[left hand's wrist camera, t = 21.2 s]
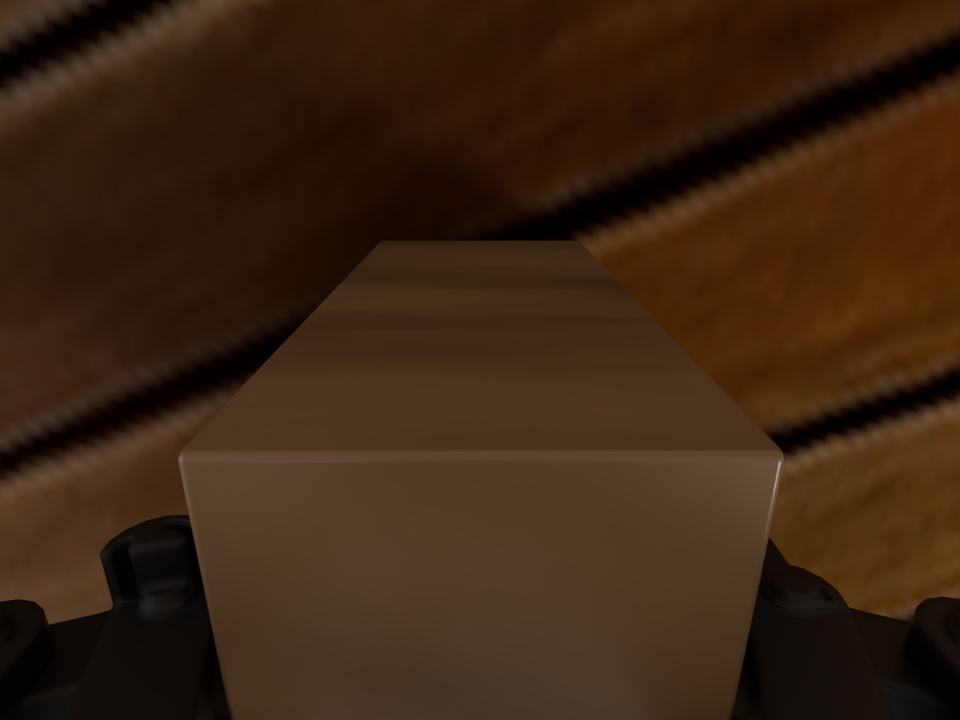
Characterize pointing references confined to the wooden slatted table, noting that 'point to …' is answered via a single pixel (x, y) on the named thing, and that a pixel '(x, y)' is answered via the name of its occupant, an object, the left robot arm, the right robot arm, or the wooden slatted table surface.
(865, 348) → the wooden slatted table surface
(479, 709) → the block
